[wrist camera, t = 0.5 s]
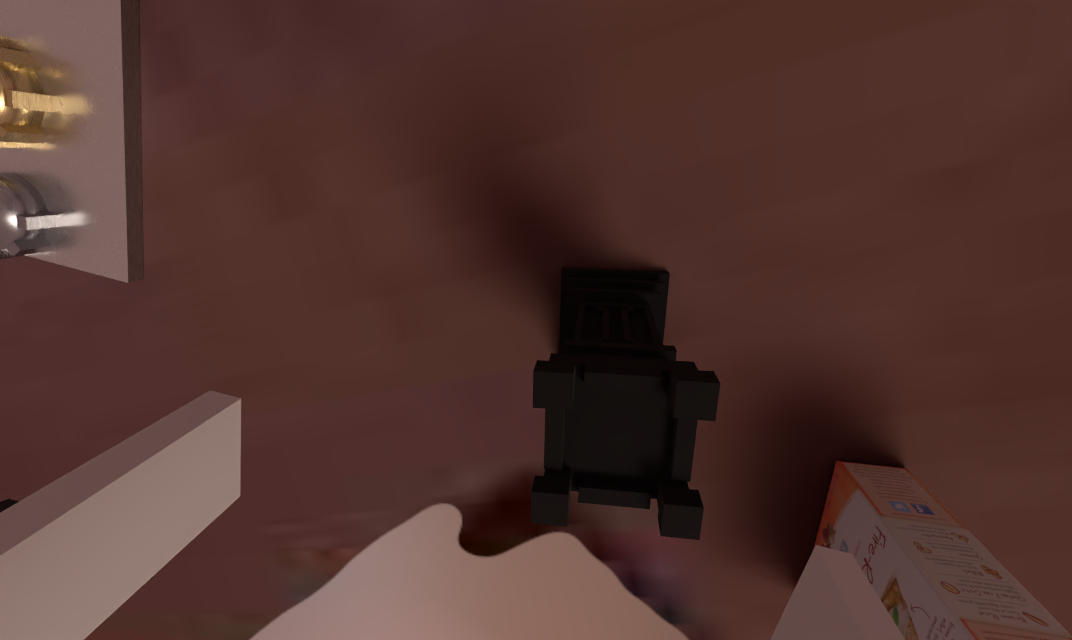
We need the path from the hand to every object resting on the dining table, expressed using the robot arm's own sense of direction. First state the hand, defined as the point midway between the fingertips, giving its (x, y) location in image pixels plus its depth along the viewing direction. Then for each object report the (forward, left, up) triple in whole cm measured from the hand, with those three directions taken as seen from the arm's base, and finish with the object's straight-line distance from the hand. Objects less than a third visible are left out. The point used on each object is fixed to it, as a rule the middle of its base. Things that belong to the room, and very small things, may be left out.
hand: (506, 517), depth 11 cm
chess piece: (+3, +4, -29) cm, 30 cm away
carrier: (-3, -46, -29) cm, 55 cm away
